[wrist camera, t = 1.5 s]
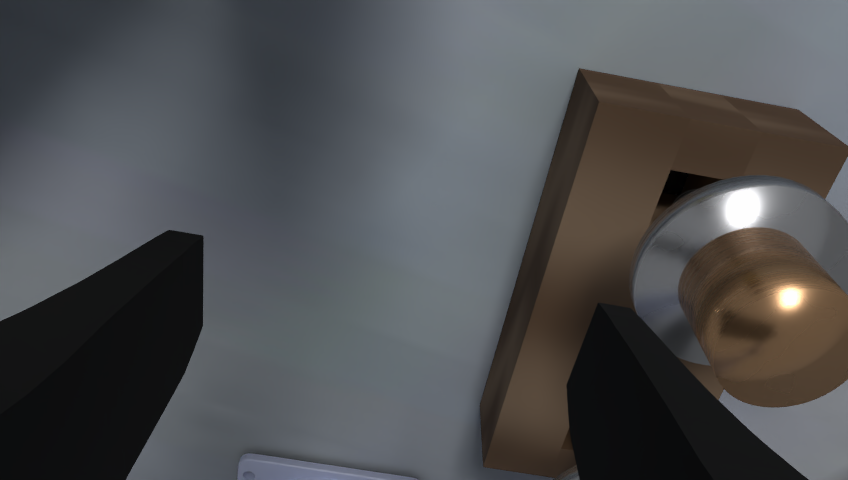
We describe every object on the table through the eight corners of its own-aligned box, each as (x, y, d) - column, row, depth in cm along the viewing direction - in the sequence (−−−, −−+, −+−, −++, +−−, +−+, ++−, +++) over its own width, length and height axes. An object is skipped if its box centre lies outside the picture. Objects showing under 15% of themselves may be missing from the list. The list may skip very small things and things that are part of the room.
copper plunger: (740, 293, 20) (847, 456, 15) (581, 266, 20) (630, 422, 15) (816, 141, 18) (979, 269, 12) (635, 108, 18) (720, 223, 12)
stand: (645, 431, 28) (667, 495, 25) (479, 404, 27) (483, 466, 25) (798, 110, 21) (851, 148, 18) (578, 68, 20) (599, 101, 18)
